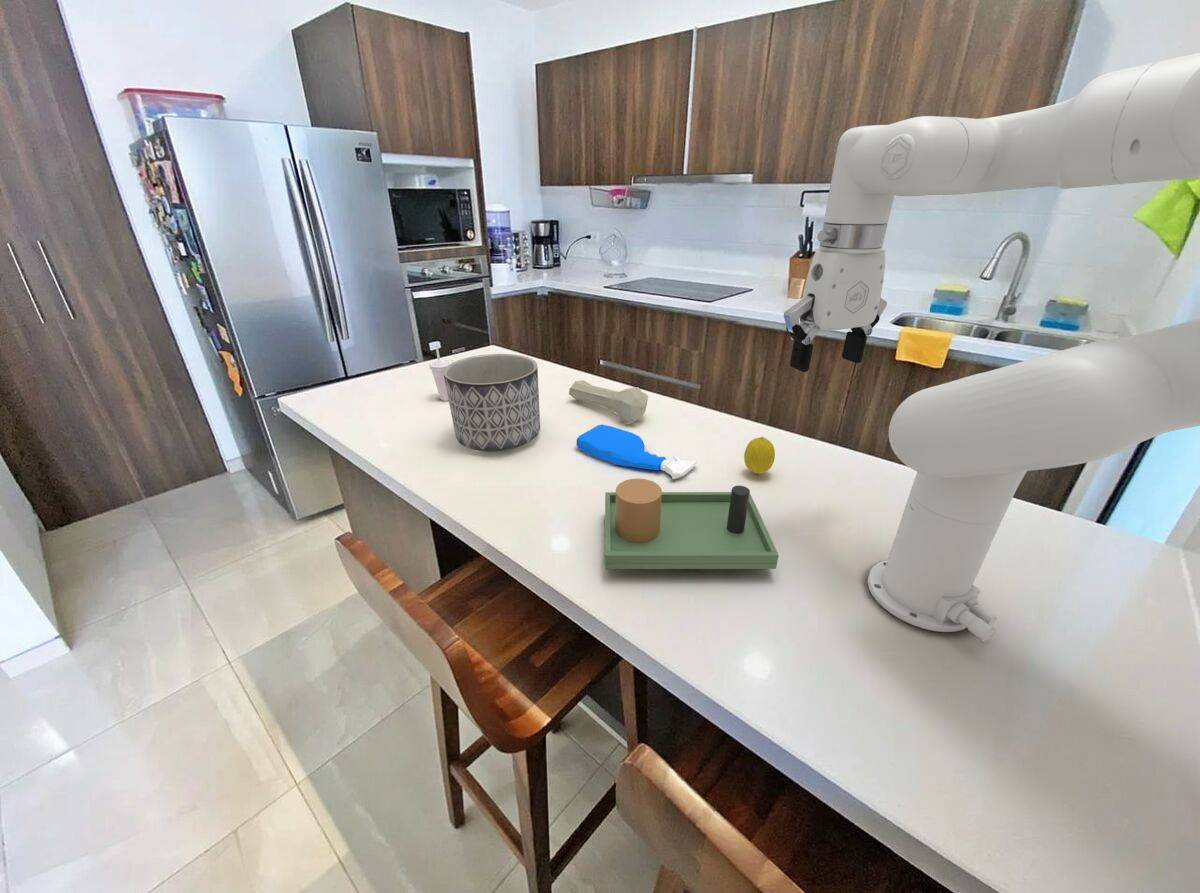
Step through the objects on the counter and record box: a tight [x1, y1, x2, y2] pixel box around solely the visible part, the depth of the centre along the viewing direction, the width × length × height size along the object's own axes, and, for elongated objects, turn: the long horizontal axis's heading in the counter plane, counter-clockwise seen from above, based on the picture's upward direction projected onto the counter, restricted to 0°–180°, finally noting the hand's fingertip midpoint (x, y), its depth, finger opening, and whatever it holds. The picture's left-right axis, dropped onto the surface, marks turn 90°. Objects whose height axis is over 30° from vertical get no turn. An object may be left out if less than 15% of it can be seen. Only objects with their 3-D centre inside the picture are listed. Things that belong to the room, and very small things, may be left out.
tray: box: [604, 485, 780, 570], centre depth 75 cm, size 24×16×8 cm, turn 89°
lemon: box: [743, 436, 776, 475], centre depth 94 cm, size 6×6×8 cm
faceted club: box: [568, 379, 649, 425], centre depth 123 cm, size 9×8×25 cm
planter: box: [443, 353, 541, 452], centre depth 107 cm, size 19×19×16 cm
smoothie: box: [428, 346, 455, 402], centre depth 129 cm, size 6×6×14 cm
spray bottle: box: [575, 424, 698, 480], centre depth 102 cm, size 3×11×24 cm
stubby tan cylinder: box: [615, 478, 663, 543], centre depth 75 cm, size 7×7×7 cm
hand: (825, 364), depth 73 cm, fingers open, 9 cm apart
